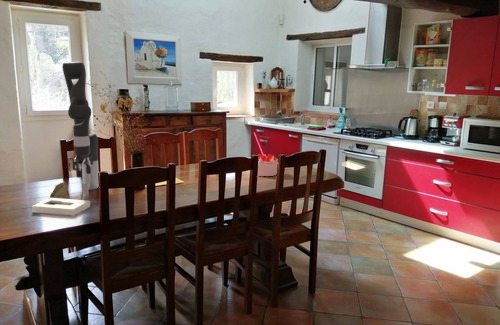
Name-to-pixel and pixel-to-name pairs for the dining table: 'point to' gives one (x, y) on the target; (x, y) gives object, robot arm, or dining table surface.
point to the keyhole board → (61, 206)
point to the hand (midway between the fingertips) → (83, 175)
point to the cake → (267, 165)
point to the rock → (60, 191)
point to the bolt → (85, 191)
